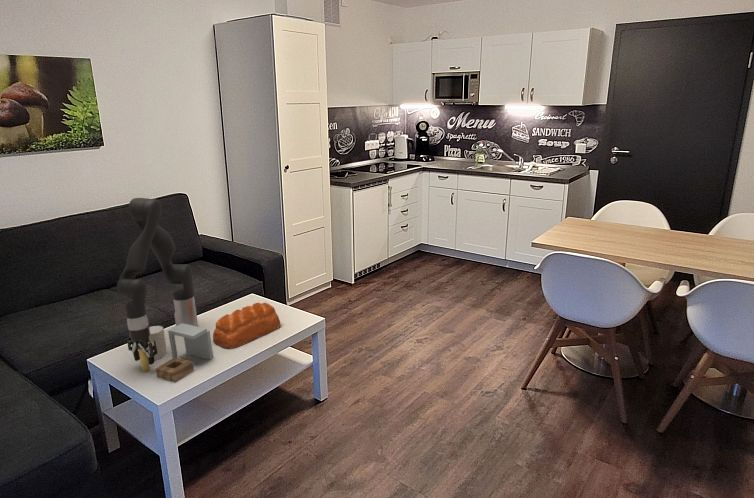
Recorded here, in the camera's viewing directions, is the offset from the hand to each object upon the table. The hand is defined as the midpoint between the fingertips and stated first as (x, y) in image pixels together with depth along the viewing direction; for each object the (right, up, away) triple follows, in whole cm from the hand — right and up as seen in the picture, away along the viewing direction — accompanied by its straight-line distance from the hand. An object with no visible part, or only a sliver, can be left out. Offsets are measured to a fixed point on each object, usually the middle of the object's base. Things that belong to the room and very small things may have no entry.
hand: (144, 362), depth 206 cm
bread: (+35, +6, +31) cm, 47 cm away
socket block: (+14, -4, -3) cm, 15 cm away
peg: (0, -3, +1) cm, 4 cm away
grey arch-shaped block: (+17, -1, +7) cm, 18 cm away
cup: (-1, 0, +13) cm, 13 cm away
